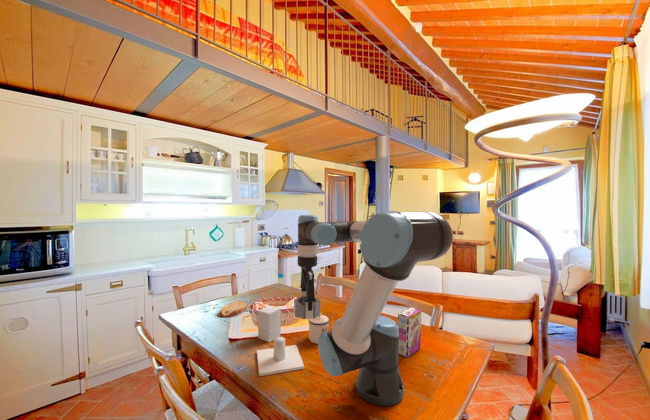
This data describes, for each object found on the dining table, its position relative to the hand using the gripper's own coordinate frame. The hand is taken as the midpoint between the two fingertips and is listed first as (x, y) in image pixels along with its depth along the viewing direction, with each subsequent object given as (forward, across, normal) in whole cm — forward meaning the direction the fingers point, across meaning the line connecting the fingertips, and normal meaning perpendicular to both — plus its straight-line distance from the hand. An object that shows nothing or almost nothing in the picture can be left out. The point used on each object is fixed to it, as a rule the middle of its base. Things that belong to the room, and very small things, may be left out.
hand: (306, 312), depth 106 cm
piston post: (+18, +1, +10) cm, 21 cm away
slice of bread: (+20, +59, +31) cm, 70 cm away
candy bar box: (+18, -5, -42) cm, 46 cm away
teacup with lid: (+19, +15, -9) cm, 26 cm away
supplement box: (+19, +21, +13) cm, 31 cm away
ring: (0, 0, 0) cm, 0 cm away
